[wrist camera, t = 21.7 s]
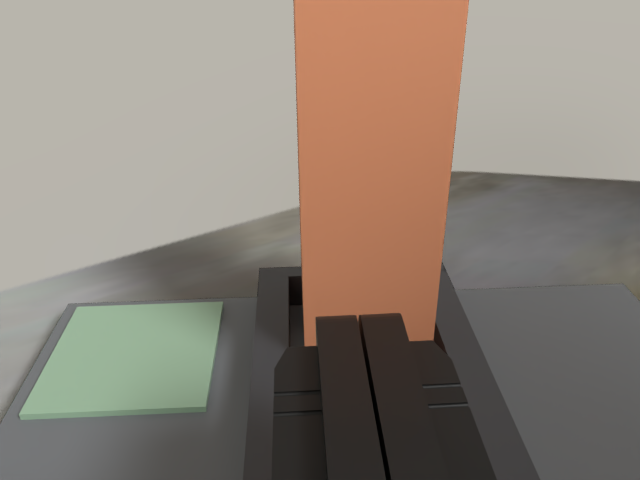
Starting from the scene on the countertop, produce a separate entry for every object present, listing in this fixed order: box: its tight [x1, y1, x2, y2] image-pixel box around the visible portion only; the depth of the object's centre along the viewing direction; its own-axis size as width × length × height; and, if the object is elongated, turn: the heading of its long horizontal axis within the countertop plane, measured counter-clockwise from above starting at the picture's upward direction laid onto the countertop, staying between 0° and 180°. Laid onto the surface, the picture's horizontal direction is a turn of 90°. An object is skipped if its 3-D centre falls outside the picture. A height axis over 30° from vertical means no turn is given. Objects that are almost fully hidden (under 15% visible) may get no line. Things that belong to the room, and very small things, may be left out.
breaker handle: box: [293, 0, 469, 346], centre depth 15 cm, size 4×4×14 cm
